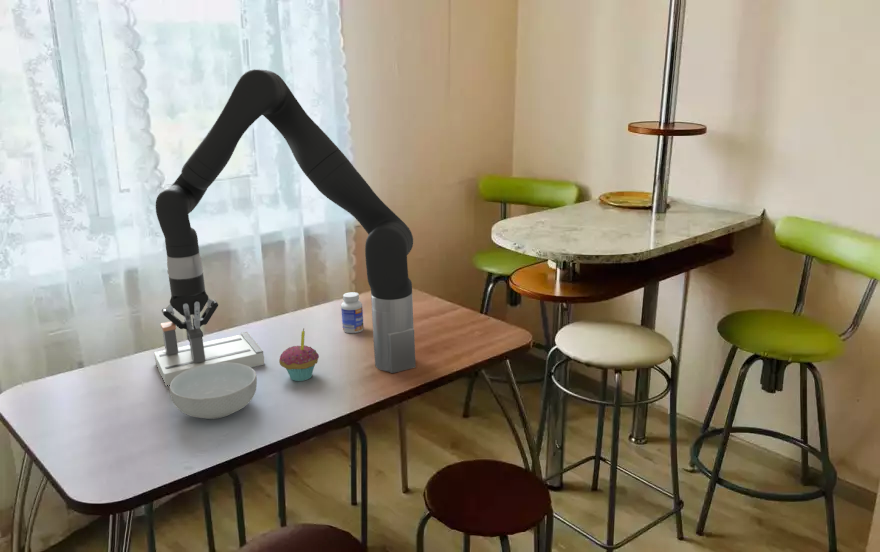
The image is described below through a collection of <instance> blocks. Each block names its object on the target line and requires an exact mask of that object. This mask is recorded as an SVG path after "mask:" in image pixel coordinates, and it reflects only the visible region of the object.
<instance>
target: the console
mask: <svg viewBox="0 0 880 552" xmlns="http://www.w3.org/2000/svg"><path fill="white" fill-rule="evenodd" d="M203 346H204V354H205V361H204V362H199V363H194V362H193V360H192V356H191V349H190V344H188V345H187V344H186V345H184V346H178V353H177V354H173V355H167V353H166V351H165V349H162V350H158V351H154V352H153V355H154V361H155V366H156V365H157V366H156V367H158V368H157V370H158V372H159V374H160V376H162V377H161V379H162V378H163V379H162V381H163V380H164V381H163V383H164V382H165V383H164V385H165V387H168V386H167V385H170V383H171V381H172V380H173V379H174V378H175V377H176V376H177V375H179V374H181V373H182V372H184V371H186V370H189V369H191V368H194V367H197V366H201V365H206V364H212V363H238V364H243V365H246V366H249V367H251V368H254V367H259V366H262V365H263V366H264V365H265V356H264V350H263V349H262V348H261V347H260V345H259V344H258V343H257V342H256V340H255V339H254V338H253V337H252V335H251V334H250V333H249V332H248V331H245V332H241V333H240V334H237V335H232V336H228V337H223V338H222V337H221V338H218V339H212V340H208V341H203Z"/></svg>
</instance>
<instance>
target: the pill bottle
mask: <svg viewBox="0 0 880 552" xmlns="http://www.w3.org/2000/svg"><path fill="white" fill-rule="evenodd" d="M342 299H343V302H341V305H340V309H341V321H342V331H343V332H344V333H347V334H357V333H360V332H362V331H363V330H364V311H363V303H362V302H361V301H360V296H359V293H358V292H357V291H356V292H354V291H353V292H352V291H351V292H345V293H344V294H342Z"/></svg>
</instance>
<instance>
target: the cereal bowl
mask: <svg viewBox="0 0 880 552" xmlns="http://www.w3.org/2000/svg"><path fill="white" fill-rule="evenodd" d="M257 381H258V379H257V372H256V370H255V369H253V367H249V366H246V365H243V364H238V363H212V364H206V365H201V366H197V367H194V368H191V369H189V370H186V371H184V372H182V373H181V374H179V375H177V376H176V377H175V378H174V379H173V380H172V381H171V383H170V386H169V393H170V398H171V401H172V404H174V406H175V407H176V408H177V410H179V411H180V412H181V413H183V414H185V415H187V416H189V417H193V418H199V419H206V420H215V419H216V420H217V419H222V418H224V417H227V416H230V415H232V414H233V413H236V412H238V411H239V410H241V409H243V408H245V407H246V406H247V405H248V404H249V403H250V402H251V401H252V399H253V398H254V397H255V395H256V391H257V384H258V383H257Z"/></svg>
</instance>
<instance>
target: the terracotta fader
mask: <svg viewBox="0 0 880 552" xmlns="http://www.w3.org/2000/svg"><path fill="white" fill-rule="evenodd" d="M160 329H161V331H162V337H163V343H164V344H163V345H164V350H165V351H166V353H167V355H173V354H177V353H178V347H179V346H178V341H177V340H178V338H177V335H176V334H177V333H176V330H177V326H176V325H175V324H174V323H172V322H171V321H166V322H160Z"/></svg>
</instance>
